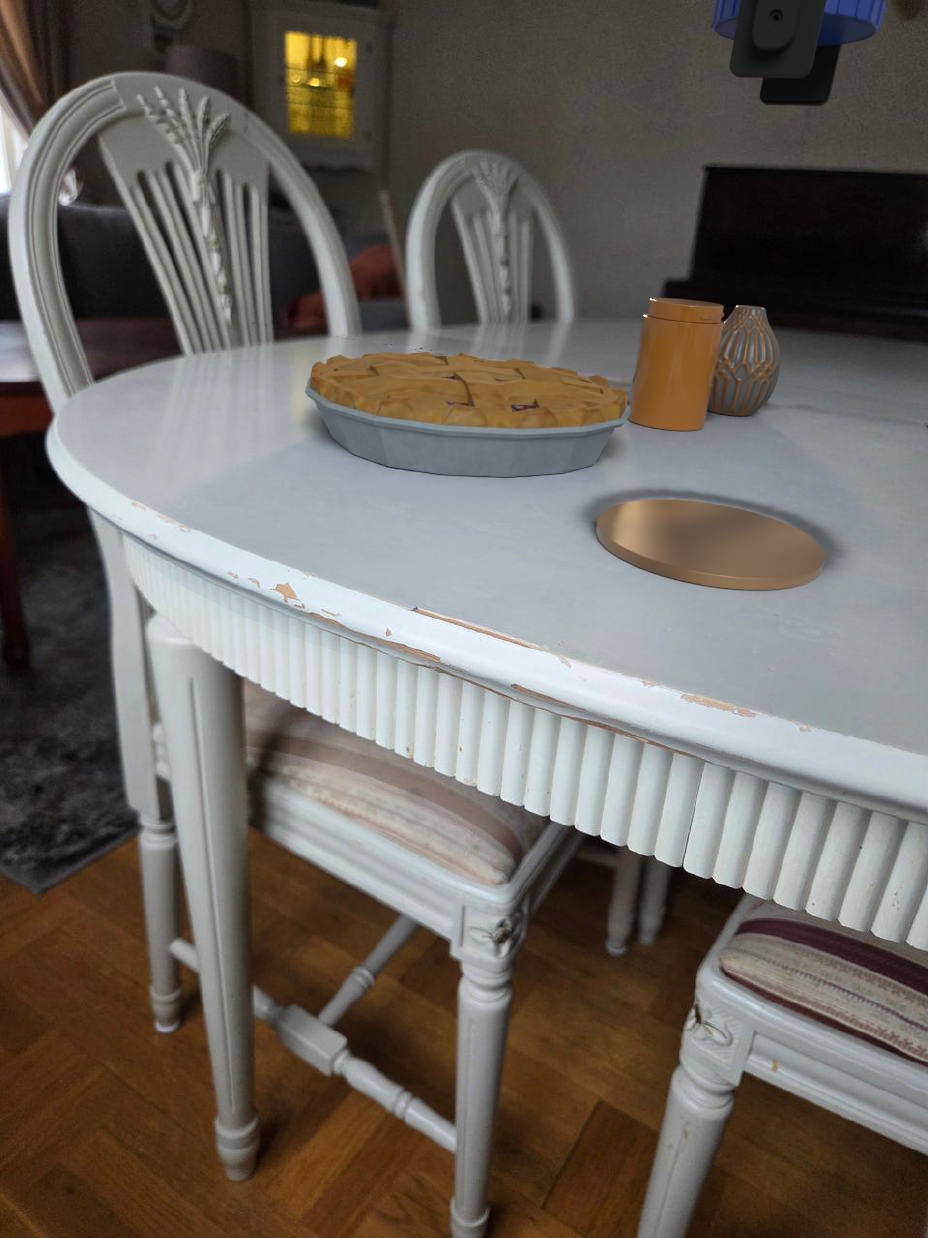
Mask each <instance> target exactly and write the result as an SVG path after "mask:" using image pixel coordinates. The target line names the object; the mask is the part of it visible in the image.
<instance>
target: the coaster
mask: <svg viewBox="0 0 928 1238" xmlns="http://www.w3.org/2000/svg"><path fill="white" fill-rule="evenodd" d="M596 521H597V522H596V529H595V532H596V537H597V539H598V541H599V543H600V544H601V545H602V546H603V547H604V548H605V549H606V550H607V551H608V552H610V553H611V554H612V555H614V556H616V557H617V558H619V559H621V560H622V561H624V562H626V563H628V564H630V565H633V566H635V567H637V568H640V569H642V570H645V571H648V572H650V573H654V574H656V575H659V576H662V577H666V578H668V579H669V578H670V579H673V580H677V581H681V582H685V583H691V584H695V585H701V586H706V587H712V588H720V589H729V590H741V591H743V590H744V591H769V590H770V591H771V590H783V589H790V588H794V587H800V586H803V585H807V584H809V583H810V582H812V581H814V580H816V579H817V578H818V577H819V576H820V575H821V574H822V572H823V569H824V566H825V562H826V553H825V549H824V548H823V547H822V545H821V544H820V543H819V542H818V541H817V540H816V539H815V538H813V537H812V536H810V535H809V534H808V533H806V532H805V531H802V530H801V529H799V528H797V527H795V526H793V525H790V524H788V523H786V522H783V521H781V520H778V519H776V518H773V517H770V516H767V515H764V514H761V513H757V512H754V511H750V510H746V509H742V508H738V507H734V506H729V505H723V504H719V503H712V502H704V501H698V500H697V501H696V500H685V499H683V500H682V499H666V498H665V499H664V498H663V499H660V498H659V499H641V500H634V501H626V502H622V503H619V504H618V503H617V504H615V505H612V506H610V507H608V508H606V509H605V510H603V511H602V512H601V513H600V514H599V515H598V518H597V520H596Z"/></svg>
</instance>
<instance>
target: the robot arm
mask: <svg viewBox="0 0 928 1238" xmlns="http://www.w3.org/2000/svg"><path fill="white" fill-rule="evenodd" d="M826 1H827V0H741V4H740V9H739V15H738V20H737V26H736V32H735V37H734V40H733V43H732V48H731V49H732V50H731V54H730V59H729V72H731V74H732V75H733V76H734V77H736V78H739V79H740V78H742V79H743V78H747V79H748V78H749V79H754V78H755V79H756V78H757V79H758V78H759V79H762V81H761V85H760V90H759V100H760V101H761V103H763V104H764V105H765V106H792V107H793V106H799V107H802V106H803V107H804V106H805V107H822V106H824V105H826V104H827V103H828V102H829V100H830V98H831V94H832V89H833V85H834V81H835V77H836V72H837V67H838V63H839V60H840V55H841V50H842V46H843V45H834V46H822V47H817V42H818V38H819V33H820V29H821V24H822V20H823V15H824V10H825V6H826Z"/></svg>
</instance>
